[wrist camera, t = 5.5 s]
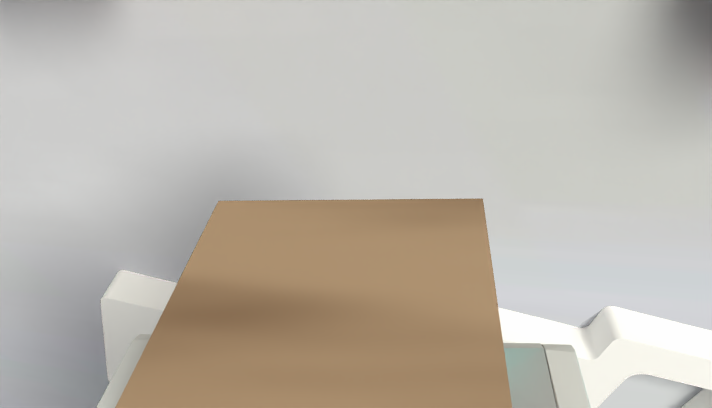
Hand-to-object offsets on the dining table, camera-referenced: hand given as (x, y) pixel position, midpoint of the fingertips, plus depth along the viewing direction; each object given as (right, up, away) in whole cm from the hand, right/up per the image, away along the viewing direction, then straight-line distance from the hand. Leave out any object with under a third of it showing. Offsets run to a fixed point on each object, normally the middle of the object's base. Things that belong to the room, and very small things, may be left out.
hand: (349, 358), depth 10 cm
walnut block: (0, +1, +1) cm, 2 cm away
